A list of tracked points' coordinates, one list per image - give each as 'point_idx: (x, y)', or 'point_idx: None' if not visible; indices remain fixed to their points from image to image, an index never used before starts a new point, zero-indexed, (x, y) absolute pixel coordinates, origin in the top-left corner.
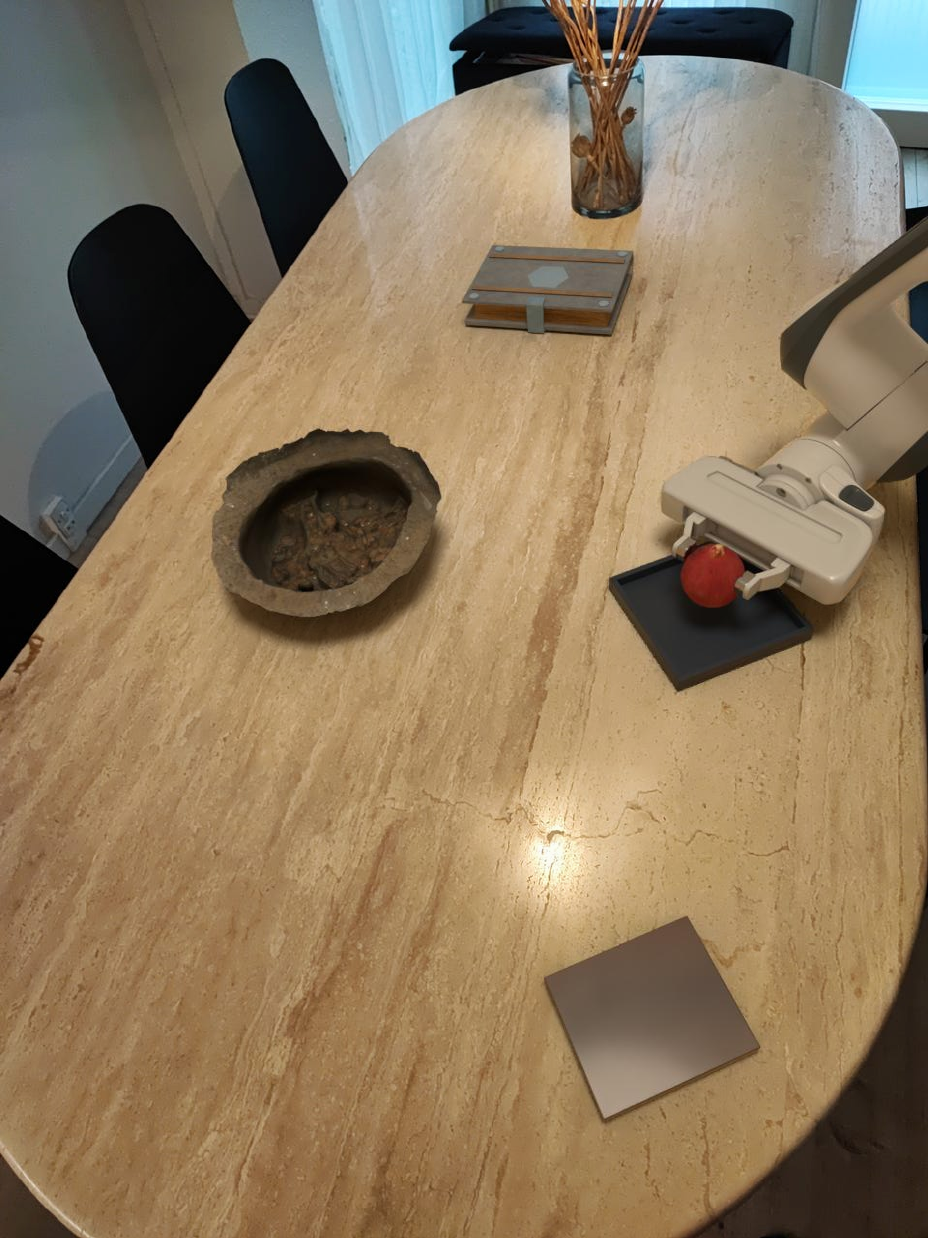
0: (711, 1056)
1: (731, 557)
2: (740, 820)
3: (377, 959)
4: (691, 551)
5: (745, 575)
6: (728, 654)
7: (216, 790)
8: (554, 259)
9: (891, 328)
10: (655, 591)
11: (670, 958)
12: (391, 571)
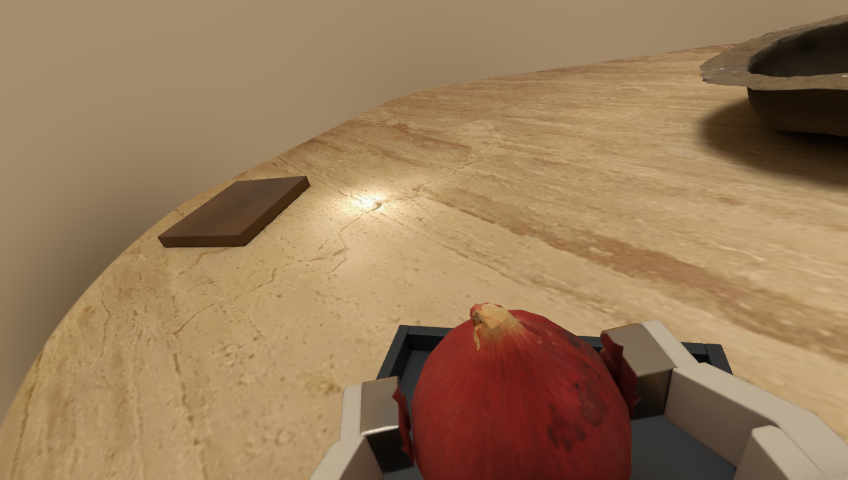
0: (188, 218)
1: (464, 387)
2: (235, 314)
3: (396, 142)
4: (624, 383)
5: (387, 405)
6: None
7: (563, 100)
8: None
9: None
10: (656, 439)
11: (237, 219)
12: (764, 84)
